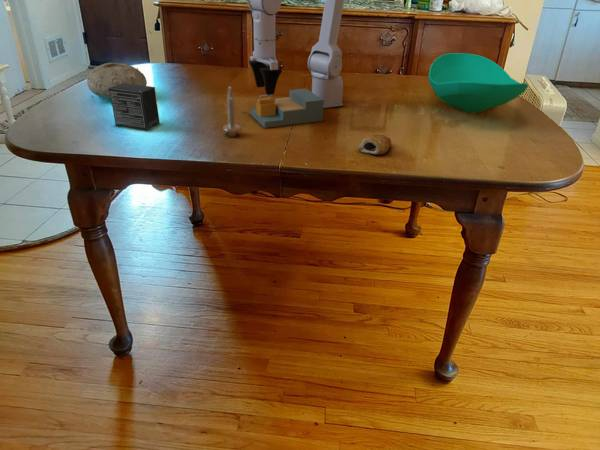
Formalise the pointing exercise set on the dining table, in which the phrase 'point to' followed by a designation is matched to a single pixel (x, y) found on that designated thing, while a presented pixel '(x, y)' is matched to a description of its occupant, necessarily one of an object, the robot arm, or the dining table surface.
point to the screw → (231, 116)
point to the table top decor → (472, 82)
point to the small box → (134, 106)
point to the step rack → (293, 110)
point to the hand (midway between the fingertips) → (265, 90)
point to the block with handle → (266, 106)
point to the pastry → (375, 144)
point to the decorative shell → (113, 77)
